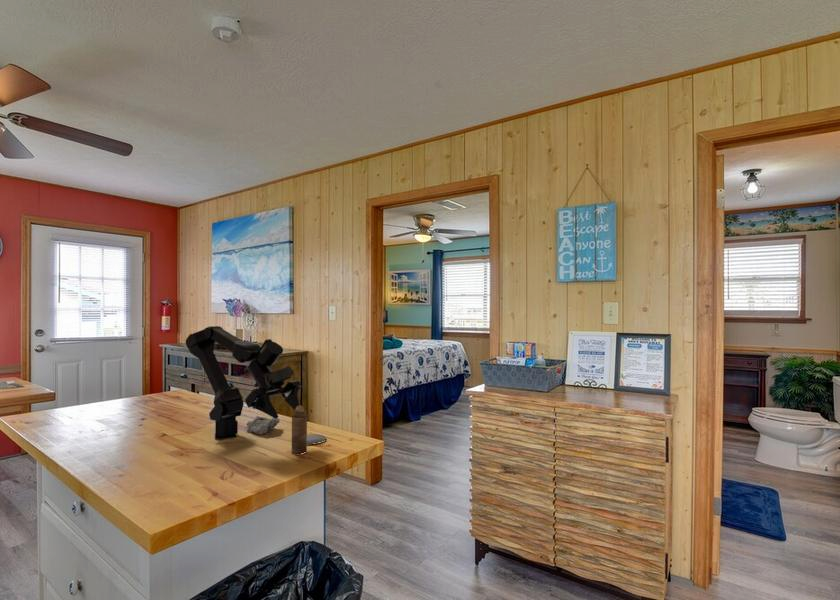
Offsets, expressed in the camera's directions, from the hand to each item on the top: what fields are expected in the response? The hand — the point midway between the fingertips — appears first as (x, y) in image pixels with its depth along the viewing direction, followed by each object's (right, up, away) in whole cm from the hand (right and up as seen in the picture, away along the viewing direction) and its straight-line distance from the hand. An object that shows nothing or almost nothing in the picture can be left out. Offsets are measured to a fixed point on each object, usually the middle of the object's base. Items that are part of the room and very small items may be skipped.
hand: (288, 414), depth 136 cm
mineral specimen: (-15, -11, +21) cm, 28 cm away
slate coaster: (+4, -11, +10) cm, 15 cm away
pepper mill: (+4, -11, -2) cm, 12 cm away
